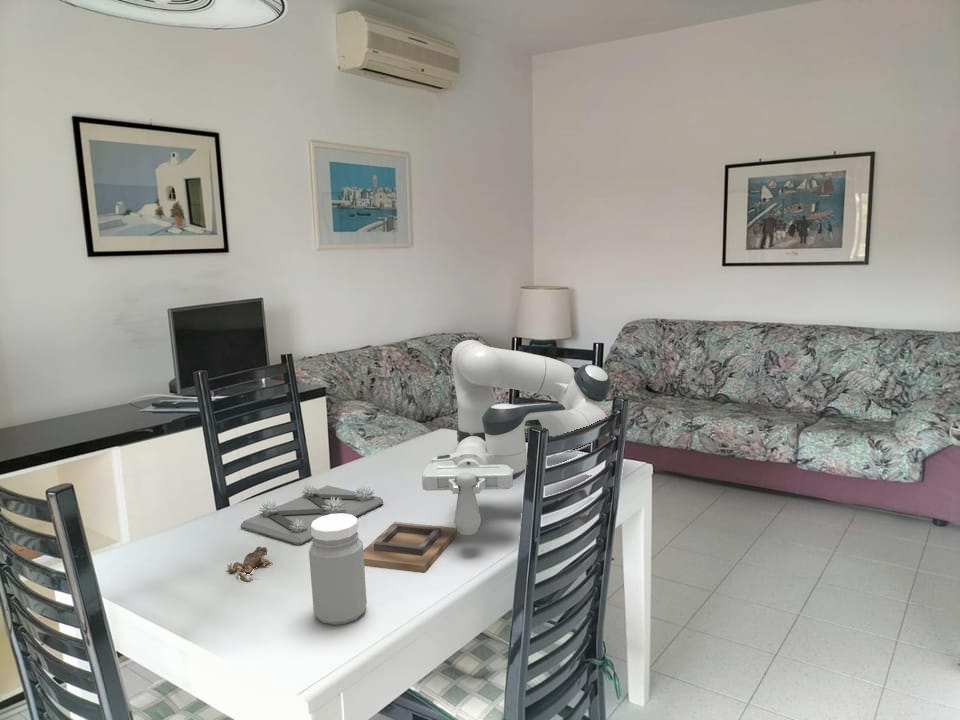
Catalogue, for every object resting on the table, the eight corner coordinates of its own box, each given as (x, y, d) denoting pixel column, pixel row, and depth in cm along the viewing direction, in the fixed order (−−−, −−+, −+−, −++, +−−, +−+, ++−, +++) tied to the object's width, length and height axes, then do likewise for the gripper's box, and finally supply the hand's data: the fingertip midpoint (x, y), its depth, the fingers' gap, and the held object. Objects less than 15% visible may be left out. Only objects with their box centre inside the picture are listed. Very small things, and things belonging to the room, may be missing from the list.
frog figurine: (246, 556, 158) (245, 540, 158) (290, 564, 154) (288, 547, 153) (208, 579, 148) (206, 562, 147) (253, 588, 143) (252, 570, 143)
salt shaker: (477, 537, 150) (475, 479, 148) (451, 535, 152) (449, 477, 149) (484, 526, 156) (482, 470, 154) (459, 525, 157) (457, 469, 155)
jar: (305, 625, 127) (297, 531, 124) (326, 598, 137) (319, 510, 134) (356, 629, 126) (350, 533, 123) (374, 601, 135) (368, 512, 132)
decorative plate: (327, 492, 197) (325, 468, 196) (386, 506, 186) (384, 480, 184) (238, 530, 173) (235, 503, 172) (299, 549, 161) (297, 519, 160)
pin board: (394, 527, 170) (394, 515, 169) (457, 534, 165) (457, 521, 164) (355, 564, 151) (354, 551, 151) (424, 572, 146) (424, 558, 146)
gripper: (514, 481, 165) (514, 503, 151) (427, 483, 166) (419, 505, 152) (513, 455, 164) (514, 475, 150) (425, 457, 165) (418, 477, 151)
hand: (465, 490), depth 151 cm, fingers closed on salt shaker, 3 cm apart
